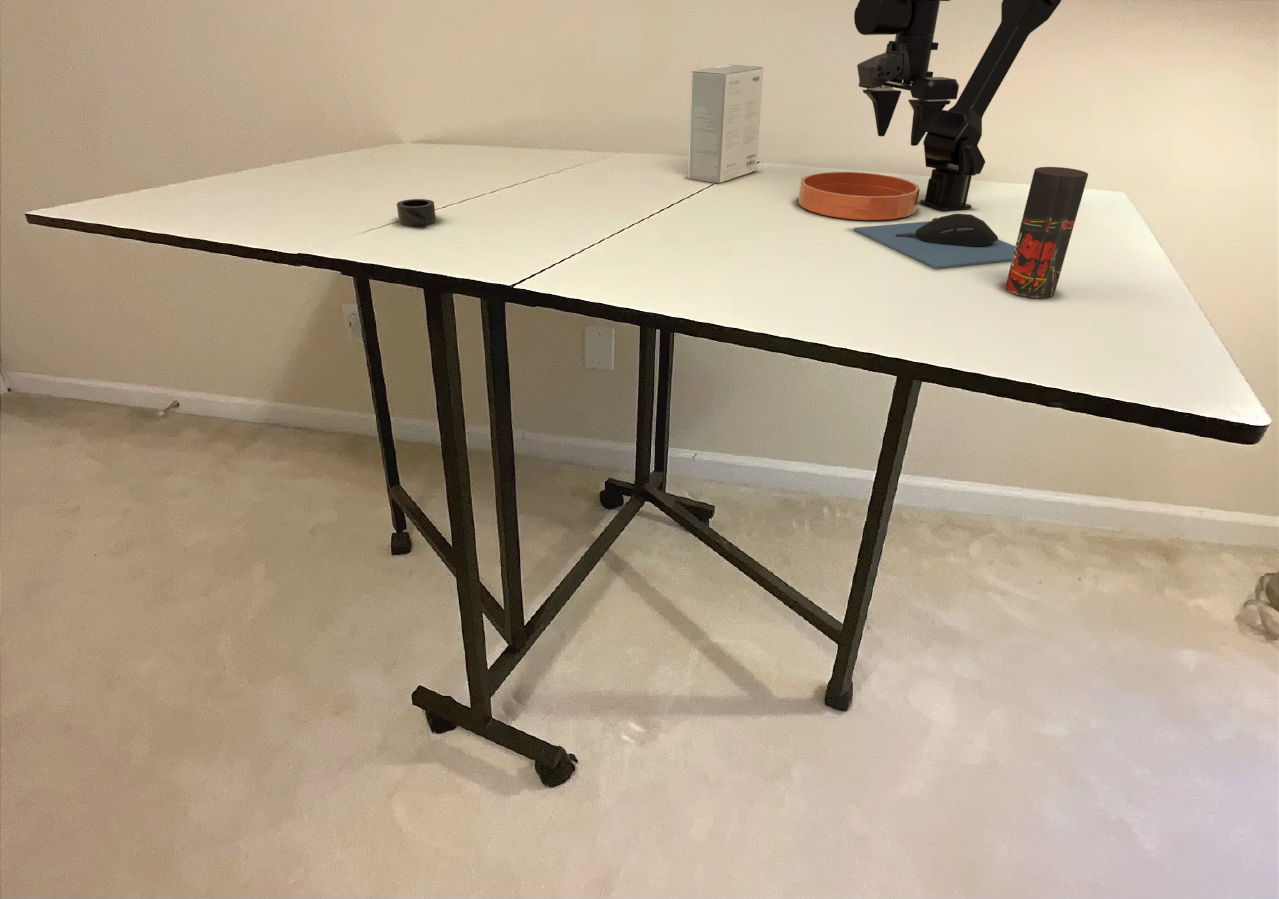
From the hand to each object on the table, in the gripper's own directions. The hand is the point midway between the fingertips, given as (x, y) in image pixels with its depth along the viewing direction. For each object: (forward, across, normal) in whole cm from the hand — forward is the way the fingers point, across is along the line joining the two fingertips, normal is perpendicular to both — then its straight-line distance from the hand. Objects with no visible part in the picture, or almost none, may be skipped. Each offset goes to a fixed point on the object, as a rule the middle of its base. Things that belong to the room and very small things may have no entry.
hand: (897, 140), depth 133 cm
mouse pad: (+12, +18, -2) cm, 22 cm away
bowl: (+12, -6, -2) cm, 14 cm away
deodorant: (+12, +40, -5) cm, 42 cm away
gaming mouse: (+12, +18, -1) cm, 21 cm away
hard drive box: (+12, -37, -14) cm, 41 cm away
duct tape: (+12, -17, -77) cm, 80 cm away
